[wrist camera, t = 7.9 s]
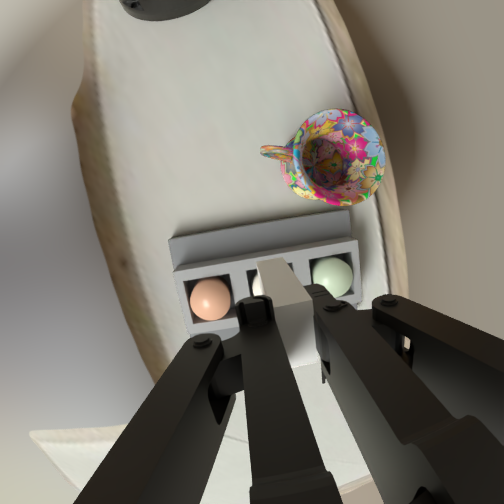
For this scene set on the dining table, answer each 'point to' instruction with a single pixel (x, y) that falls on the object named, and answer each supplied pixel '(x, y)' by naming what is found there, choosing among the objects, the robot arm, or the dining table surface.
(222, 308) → the brown egg
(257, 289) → the white egg
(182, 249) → the panel
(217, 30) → the dining table surface
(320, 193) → the mug
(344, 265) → the pale green rounded piece
